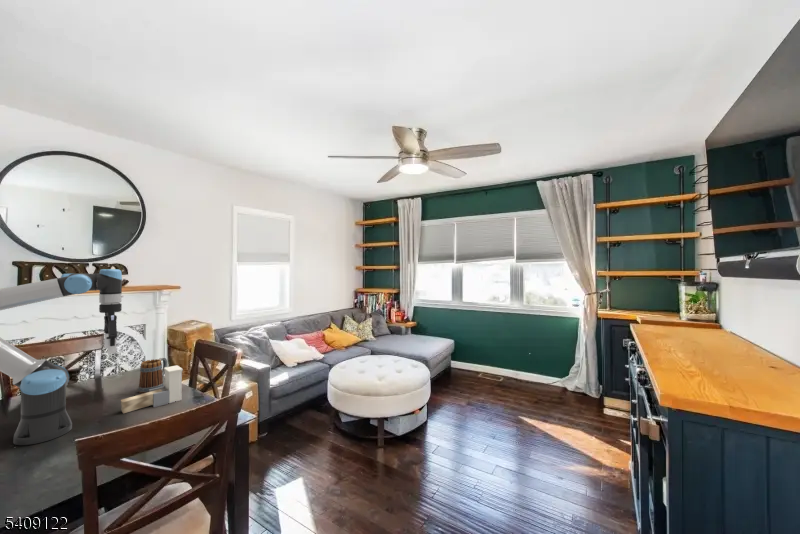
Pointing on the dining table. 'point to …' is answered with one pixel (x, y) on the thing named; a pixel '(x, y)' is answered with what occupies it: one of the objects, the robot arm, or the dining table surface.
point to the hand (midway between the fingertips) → (110, 350)
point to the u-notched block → (169, 387)
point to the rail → (138, 401)
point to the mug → (151, 375)
